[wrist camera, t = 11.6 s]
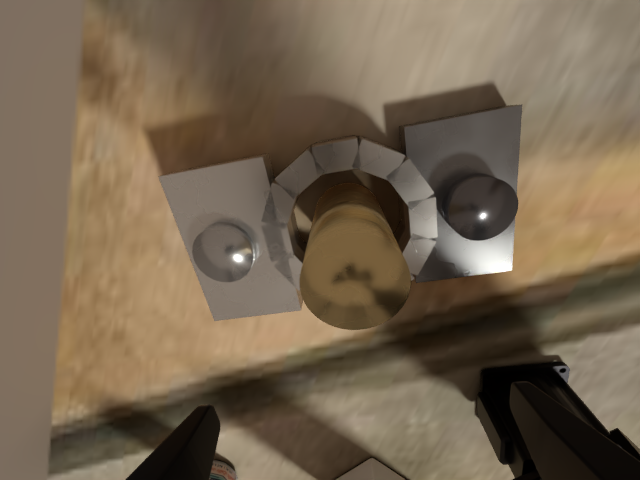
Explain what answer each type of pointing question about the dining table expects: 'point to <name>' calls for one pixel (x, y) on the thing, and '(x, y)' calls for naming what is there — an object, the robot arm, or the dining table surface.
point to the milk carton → (371, 472)
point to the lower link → (464, 189)
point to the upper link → (279, 221)
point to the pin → (353, 261)
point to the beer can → (222, 471)
